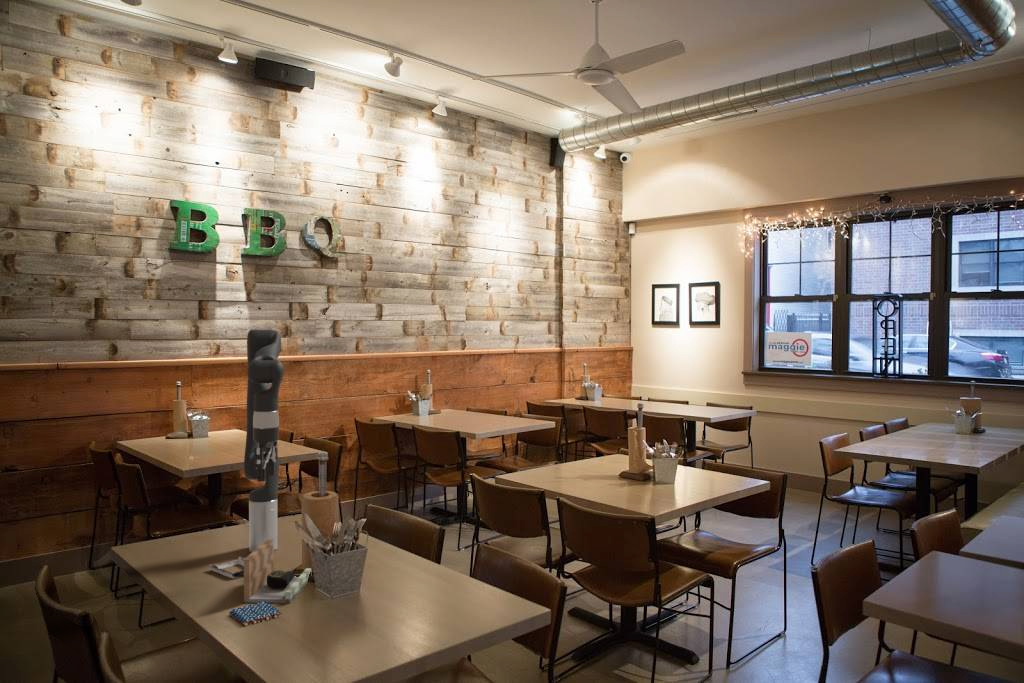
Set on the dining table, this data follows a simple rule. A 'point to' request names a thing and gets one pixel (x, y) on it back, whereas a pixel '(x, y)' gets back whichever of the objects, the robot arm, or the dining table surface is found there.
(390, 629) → the dining table surface
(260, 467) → the robot arm
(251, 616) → the woven mat
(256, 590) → the cleat board
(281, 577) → the tape measure
